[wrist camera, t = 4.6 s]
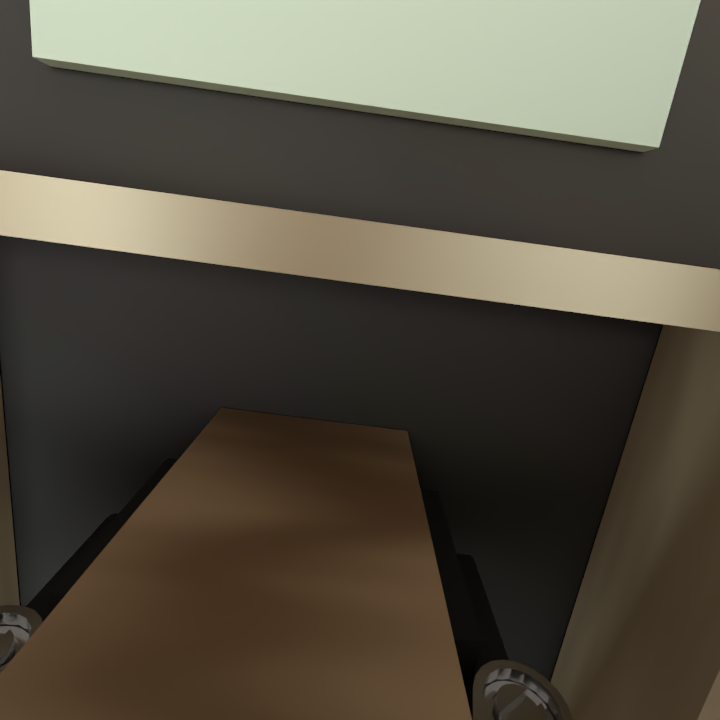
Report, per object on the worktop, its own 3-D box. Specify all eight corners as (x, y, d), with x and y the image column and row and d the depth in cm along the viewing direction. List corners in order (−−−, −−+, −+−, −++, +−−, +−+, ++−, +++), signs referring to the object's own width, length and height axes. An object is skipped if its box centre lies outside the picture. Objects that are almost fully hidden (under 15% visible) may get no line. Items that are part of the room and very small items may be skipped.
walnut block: (407, 431, 11) (513, 906, 3) (380, 584, 12) (410, 1200, 4) (221, 407, 11) (-140, 841, 3) (212, 564, 12) (-62, 1163, 4)
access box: (716, 275, 10) (944, 300, 6) (561, 733, 13) (640, 935, 10) (-55, 169, 9) (-347, 121, 6) (-3, 672, 13) (-158, 857, 9)
